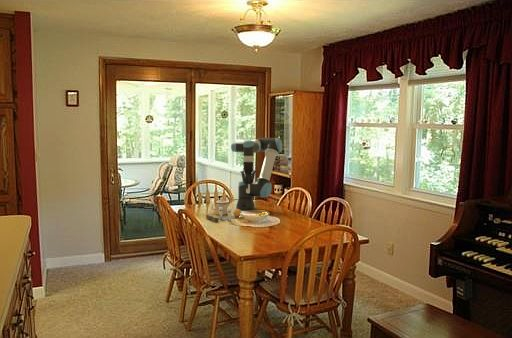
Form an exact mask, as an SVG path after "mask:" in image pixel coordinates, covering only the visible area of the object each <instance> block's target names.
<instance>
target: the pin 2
mask: <svg viewBox="0 0 512 338" xmlns="http://www.w3.org/2000/svg"><path fill="white" fill-rule="evenodd" d="M231 216H232V208H227V217H228V220H227V221H228V222H231V221H232V219H231Z"/></svg>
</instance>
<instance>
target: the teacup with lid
mask: <svg viewBox="0 0 512 338" xmlns="http://www.w3.org/2000/svg"><path fill="white" fill-rule="evenodd" d="M214 206H215V208H214ZM219 207H223V216H224V215H228V201H227V200H224V198H219V200H216V201H215V203H213V204H212V205H211V209H212V211H213V212H215V214H216V215H218V216H219Z"/></svg>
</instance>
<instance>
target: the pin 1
mask: <svg viewBox="0 0 512 338" xmlns="http://www.w3.org/2000/svg"><path fill="white" fill-rule="evenodd" d="M223 217H224V215H223V207H219V215H218V218H219V219H218V220H220V219H223Z"/></svg>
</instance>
